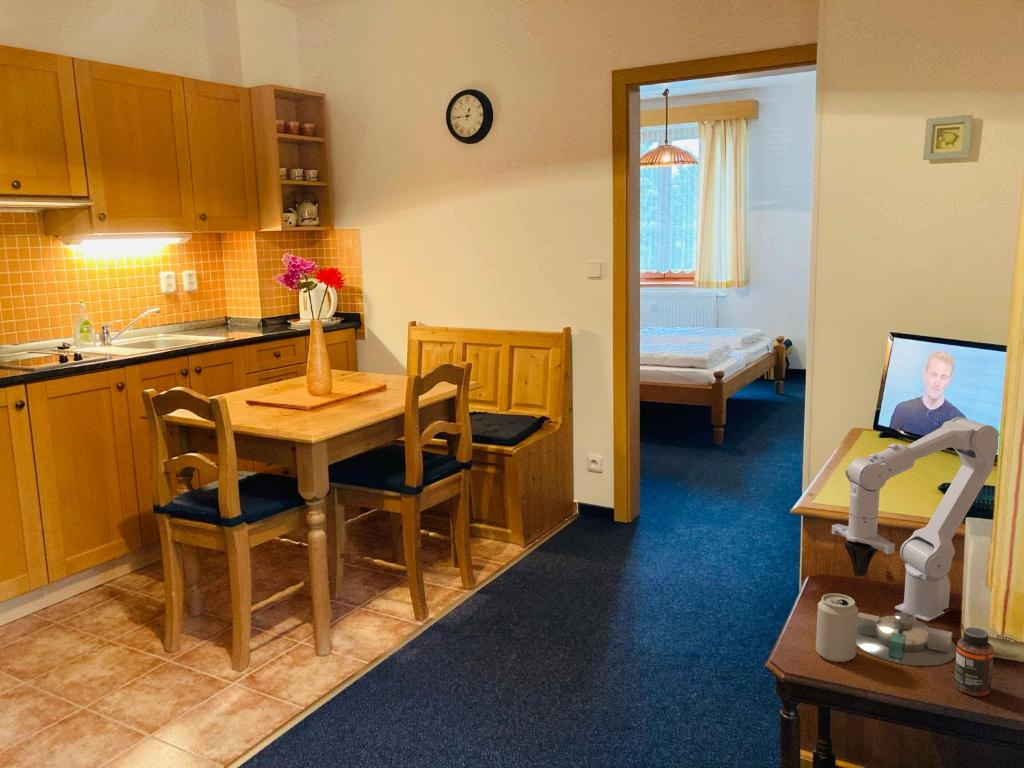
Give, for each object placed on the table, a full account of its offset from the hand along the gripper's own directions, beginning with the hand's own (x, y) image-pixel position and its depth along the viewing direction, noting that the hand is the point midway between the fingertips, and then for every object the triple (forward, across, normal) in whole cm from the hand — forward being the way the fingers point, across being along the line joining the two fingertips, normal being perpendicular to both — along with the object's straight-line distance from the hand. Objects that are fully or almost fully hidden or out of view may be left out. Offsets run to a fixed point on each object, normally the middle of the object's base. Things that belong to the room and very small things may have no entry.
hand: (860, 574), depth 183 cm
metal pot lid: (+10, +12, -1) cm, 16 cm away
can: (+10, +9, -18) cm, 22 cm away
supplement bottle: (+10, +30, -6) cm, 33 cm away
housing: (+10, +12, -1) cm, 16 cm away
